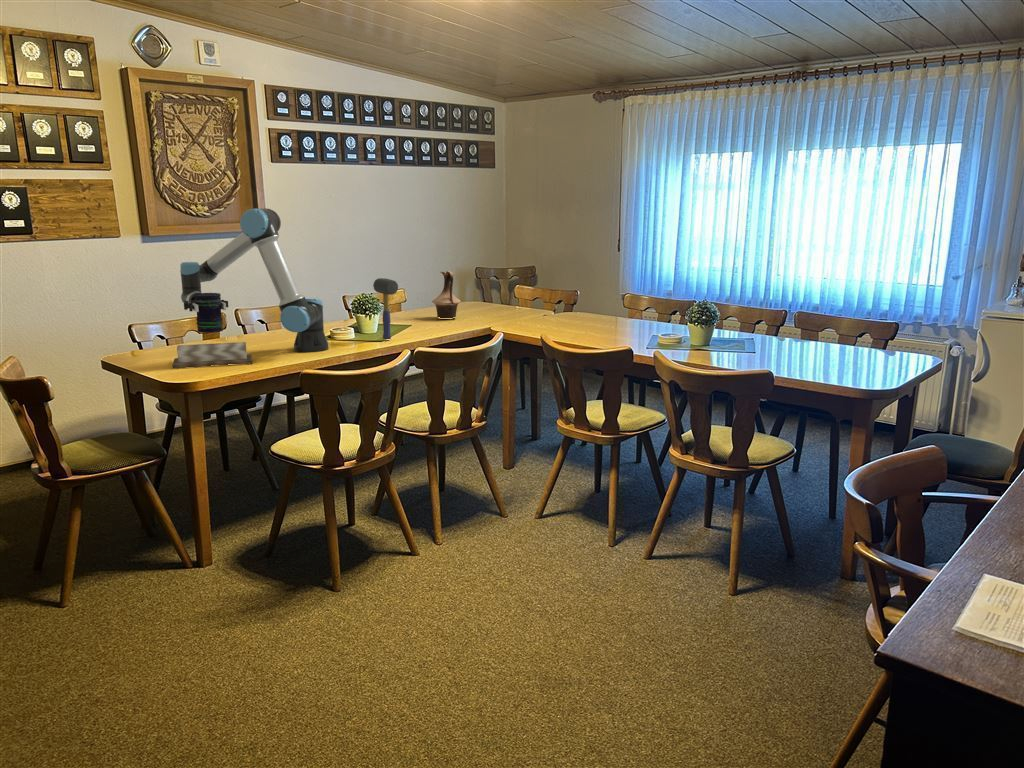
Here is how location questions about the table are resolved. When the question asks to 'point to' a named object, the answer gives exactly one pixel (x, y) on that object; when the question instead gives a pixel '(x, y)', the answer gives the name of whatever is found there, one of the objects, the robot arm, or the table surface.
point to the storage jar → (209, 312)
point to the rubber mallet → (386, 301)
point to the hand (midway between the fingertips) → (211, 307)
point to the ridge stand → (211, 355)
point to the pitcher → (446, 298)
